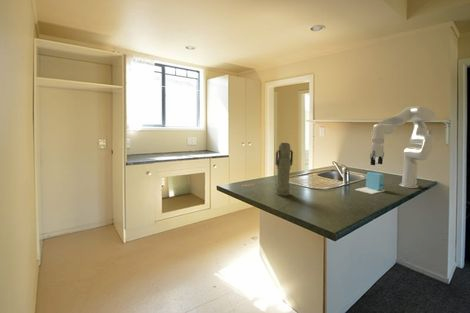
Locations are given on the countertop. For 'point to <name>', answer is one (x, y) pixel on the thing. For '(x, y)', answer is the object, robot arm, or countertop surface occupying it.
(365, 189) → the mat
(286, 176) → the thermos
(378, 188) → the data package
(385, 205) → the countertop surface
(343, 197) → the countertop surface
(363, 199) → the countertop surface
